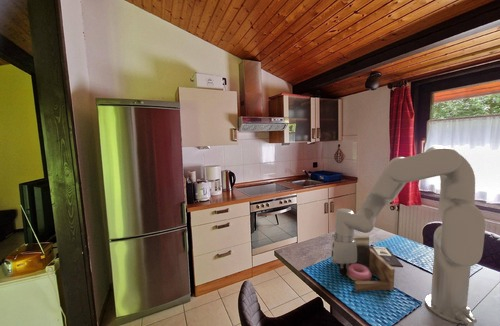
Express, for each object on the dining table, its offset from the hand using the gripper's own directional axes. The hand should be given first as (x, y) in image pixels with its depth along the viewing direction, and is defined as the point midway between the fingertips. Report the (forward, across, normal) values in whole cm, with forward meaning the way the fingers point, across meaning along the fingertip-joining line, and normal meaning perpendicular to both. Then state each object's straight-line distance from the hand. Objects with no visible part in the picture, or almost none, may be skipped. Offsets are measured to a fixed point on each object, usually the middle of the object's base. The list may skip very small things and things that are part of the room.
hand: (343, 274), depth 97 cm
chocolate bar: (+2, +30, +16) cm, 34 cm away
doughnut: (+2, +7, 0) cm, 7 cm away
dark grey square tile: (+1, +10, +7) cm, 12 cm away
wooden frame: (+1, +10, +2) cm, 10 cm away
